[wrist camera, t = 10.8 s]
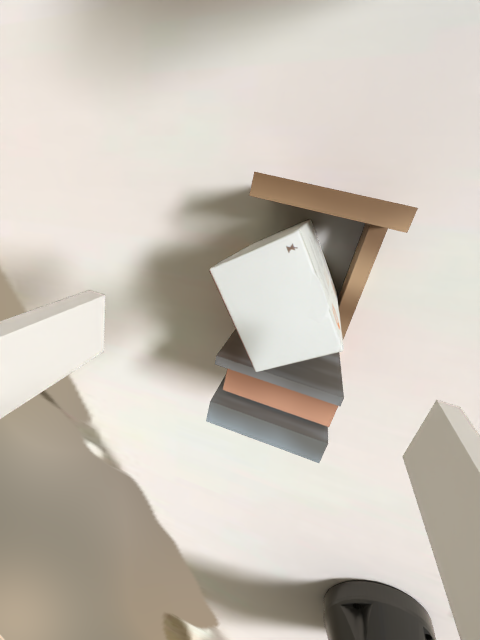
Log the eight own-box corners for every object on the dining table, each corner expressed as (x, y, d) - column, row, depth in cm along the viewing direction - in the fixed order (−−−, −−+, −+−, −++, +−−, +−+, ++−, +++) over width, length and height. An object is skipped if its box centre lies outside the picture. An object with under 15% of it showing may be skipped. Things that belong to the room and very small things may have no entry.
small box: (251, 243, 30) (205, 266, 19) (310, 217, 28) (301, 225, 16) (279, 313, 32) (254, 375, 20) (338, 294, 30) (347, 351, 18)
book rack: (320, 380, 34) (319, 463, 23) (234, 352, 35) (195, 416, 25) (388, 207, 26) (434, 208, 15) (274, 182, 28) (243, 166, 17)
